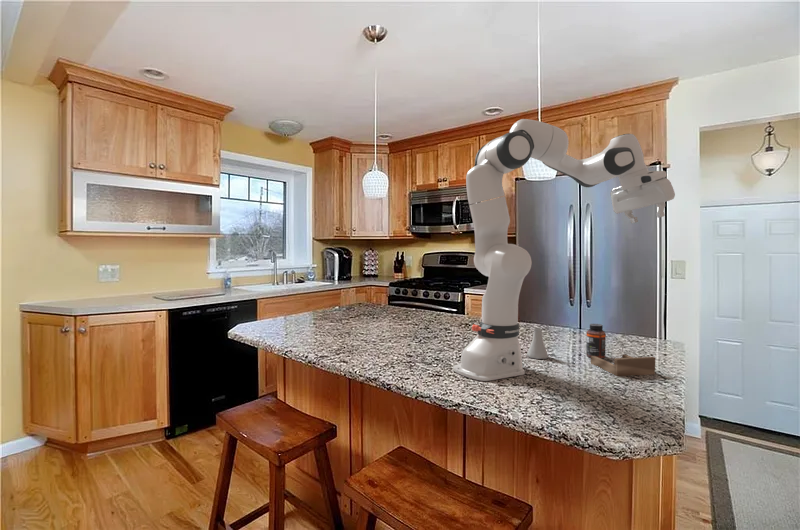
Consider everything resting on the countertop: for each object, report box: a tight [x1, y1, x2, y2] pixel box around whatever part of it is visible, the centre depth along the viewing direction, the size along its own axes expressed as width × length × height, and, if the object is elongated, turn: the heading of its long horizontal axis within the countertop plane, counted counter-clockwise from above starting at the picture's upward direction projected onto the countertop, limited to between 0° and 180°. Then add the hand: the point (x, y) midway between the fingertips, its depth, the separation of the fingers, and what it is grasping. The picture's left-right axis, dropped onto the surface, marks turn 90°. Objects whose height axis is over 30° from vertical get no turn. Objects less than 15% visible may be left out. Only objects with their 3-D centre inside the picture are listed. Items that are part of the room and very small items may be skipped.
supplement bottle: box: [585, 323, 607, 359], centre depth 136 cm, size 6×6×11 cm
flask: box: [526, 326, 549, 360], centre depth 137 cm, size 7×7×10 cm
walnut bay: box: [590, 354, 656, 377], centre depth 124 cm, size 13×12×5 cm
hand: (647, 219), depth 135 cm, fingers open, 8 cm apart
